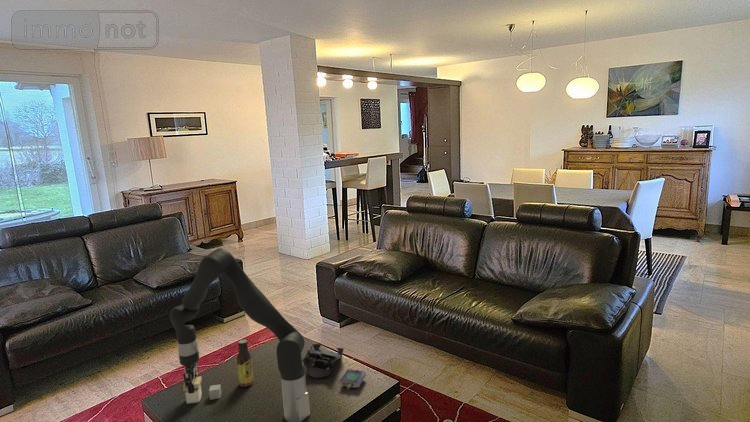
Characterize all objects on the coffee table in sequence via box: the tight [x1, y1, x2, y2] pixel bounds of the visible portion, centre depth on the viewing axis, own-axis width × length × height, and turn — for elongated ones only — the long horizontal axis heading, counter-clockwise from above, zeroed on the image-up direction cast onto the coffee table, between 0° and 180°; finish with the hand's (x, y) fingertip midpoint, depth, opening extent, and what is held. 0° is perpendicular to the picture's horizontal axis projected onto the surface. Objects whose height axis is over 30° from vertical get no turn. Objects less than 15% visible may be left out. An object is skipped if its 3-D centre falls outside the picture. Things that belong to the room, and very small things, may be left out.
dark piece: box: [301, 343, 344, 379], centre depth 198 cm, size 18×20×9 cm
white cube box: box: [185, 383, 203, 405], centre depth 177 cm, size 5×5×5 cm
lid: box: [182, 375, 203, 391], centre depth 176 cm, size 6×6×3 cm
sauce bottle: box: [236, 339, 254, 388], centre depth 186 cm, size 6×6×20 cm
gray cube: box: [208, 384, 222, 401], centre depth 179 cm, size 4×4×4 cm
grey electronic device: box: [339, 368, 367, 390], centre depth 183 cm, size 9×3×11 cm
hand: (193, 388), depth 177 cm, fingers closed on lid, 5 cm apart
